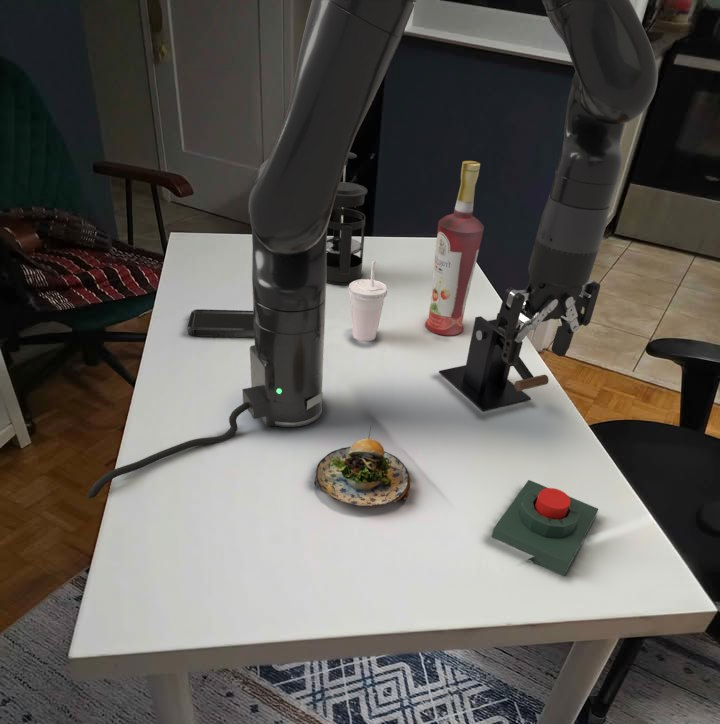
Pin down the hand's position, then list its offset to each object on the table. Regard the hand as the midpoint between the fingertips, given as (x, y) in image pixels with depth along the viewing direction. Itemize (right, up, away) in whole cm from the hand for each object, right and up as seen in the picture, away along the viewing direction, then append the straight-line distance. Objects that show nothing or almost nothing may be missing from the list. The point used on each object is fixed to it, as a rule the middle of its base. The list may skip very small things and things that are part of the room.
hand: (533, 358), depth 88 cm
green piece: (-2, -23, -11) cm, 25 cm away
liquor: (-9, +10, +28) cm, 30 cm away
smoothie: (-23, +7, +23) cm, 33 cm away
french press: (-28, +25, +43) cm, 57 cm away
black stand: (-5, -3, +13) cm, 14 cm away
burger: (-23, -17, -7) cm, 30 cm away
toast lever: (-2, +1, +6) cm, 6 cm away
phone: (-45, +10, +23) cm, 52 cm away
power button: (-2, -20, -13) cm, 24 cm away
